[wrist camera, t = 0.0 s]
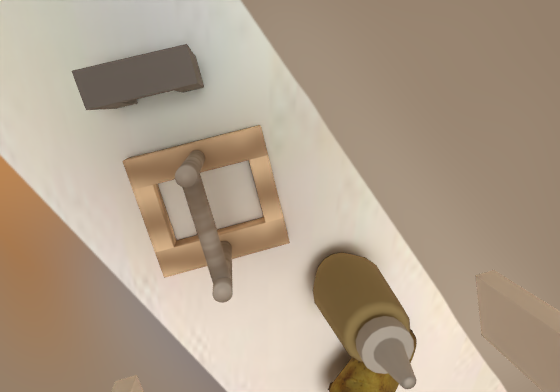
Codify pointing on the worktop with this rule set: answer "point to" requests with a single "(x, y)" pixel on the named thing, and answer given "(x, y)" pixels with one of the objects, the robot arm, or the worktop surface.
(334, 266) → the squeeze bottle
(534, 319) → the robot arm
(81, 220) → the worktop surface
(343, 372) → the potato
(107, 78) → the grey notched block
